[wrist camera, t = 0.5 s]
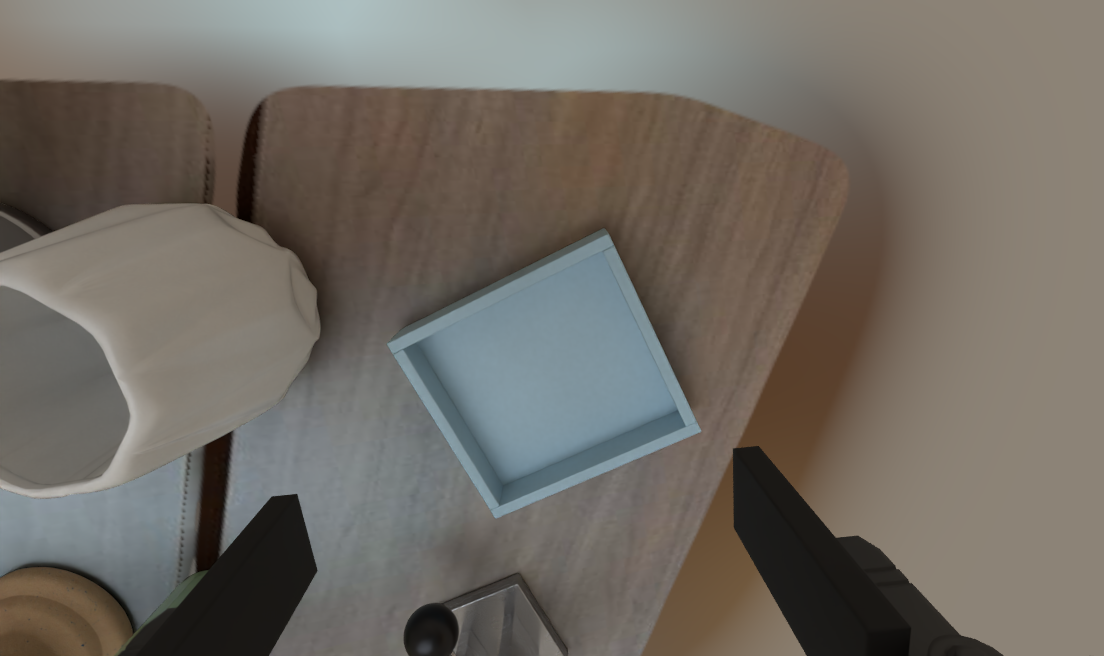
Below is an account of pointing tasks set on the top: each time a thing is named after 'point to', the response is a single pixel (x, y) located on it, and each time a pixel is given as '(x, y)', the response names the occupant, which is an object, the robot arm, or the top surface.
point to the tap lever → (431, 631)
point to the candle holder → (58, 615)
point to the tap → (504, 622)
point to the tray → (546, 376)
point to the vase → (142, 342)
